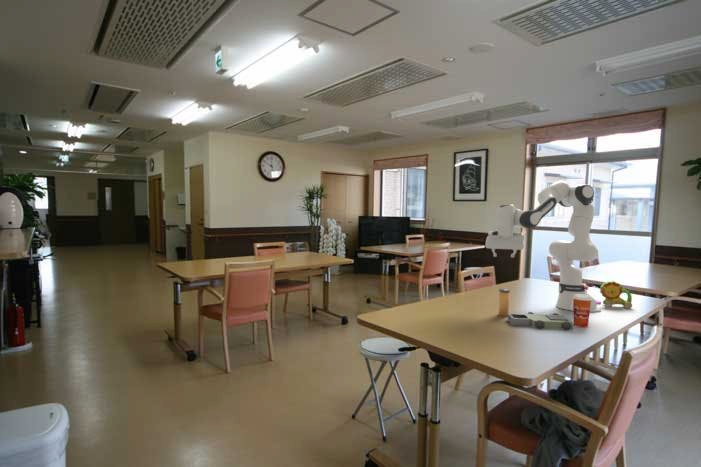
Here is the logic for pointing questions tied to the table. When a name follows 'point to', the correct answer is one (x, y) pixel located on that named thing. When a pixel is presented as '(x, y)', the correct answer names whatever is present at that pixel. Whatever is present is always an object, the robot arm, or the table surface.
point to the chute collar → (519, 319)
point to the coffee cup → (581, 309)
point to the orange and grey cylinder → (504, 302)
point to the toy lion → (615, 294)
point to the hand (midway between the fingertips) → (503, 256)
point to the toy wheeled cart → (550, 321)
